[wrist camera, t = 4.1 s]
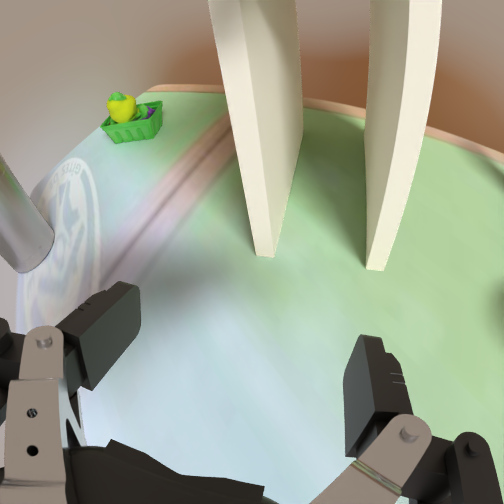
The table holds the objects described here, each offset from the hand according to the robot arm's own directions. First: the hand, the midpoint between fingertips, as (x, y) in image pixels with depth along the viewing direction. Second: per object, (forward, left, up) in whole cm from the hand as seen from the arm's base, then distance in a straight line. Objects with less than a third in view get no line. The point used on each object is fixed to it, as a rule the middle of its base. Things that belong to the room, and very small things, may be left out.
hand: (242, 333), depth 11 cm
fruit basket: (-51, +18, -18) cm, 57 cm away
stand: (-13, +26, -18) cm, 34 cm away
